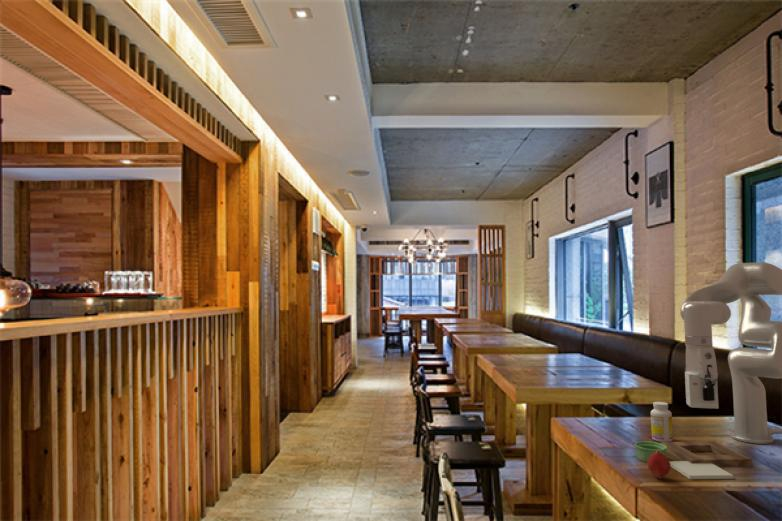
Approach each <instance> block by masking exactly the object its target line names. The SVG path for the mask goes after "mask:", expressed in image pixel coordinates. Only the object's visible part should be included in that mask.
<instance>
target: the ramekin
mask: <svg viewBox="0 0 782 521" xmlns="http://www.w3.org/2000/svg"><path fill="white" fill-rule="evenodd" d="M634 446H635V452H636V458H637V459H638V460H639V461H642V462H645V463H647V461H648V458H649V457H650V456H651V455H652V454H653V453H655V452H656V451H657V450H660V452H661V453H662V454H663V455H665V456H666V457H667V452H666V450H667V447H666V446H665V445H663V444H661V442H657V441H648V440H647V441H646V440H643V441H642V440H640V441H637V442H634Z"/></svg>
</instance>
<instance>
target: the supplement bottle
mask: <svg viewBox="0 0 782 521" xmlns="http://www.w3.org/2000/svg"><path fill="white" fill-rule="evenodd" d="M652 405H653V409H652V410H651V411H650V427H651V429H650V430H651V438H652V440H653V441H654V442H657V443H661V442H674V441H673V440H674V432H673V431H674V430H673V416H672V414H673V413H672V412H671V411H670V410H669V409H668V408H669V404H668V403H667V402H665V401H654V402H652Z"/></svg>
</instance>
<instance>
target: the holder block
mask: <svg viewBox="0 0 782 521" xmlns="http://www.w3.org/2000/svg"><path fill="white" fill-rule="evenodd" d="M660 444H663V445H665V446H666V447H667V450H666V453H667V454H670V455H671V456H673V457H675V458H676V459H678V460H679V461H688V462H690V463H712V464H714V465H716V466H718V467H753V459H752V458H750V457H748V456H746V455H744V454H742V453H740V452H737V451H736V450H734V449H732V448H730V447H727V446H725V445H724V444H721V443H719V442H717V441H716V440H715V441H672V442H660ZM691 451H705V452H711V453H712V452H713V453H712V455H711V454H710V455H709V454H707V455H706V454H705V455H704V454H703V455H700V454H699V455H698V454H695V453H694V452H691ZM714 454H715V455H714Z"/></svg>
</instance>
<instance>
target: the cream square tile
mask: <svg viewBox="0 0 782 521" xmlns="http://www.w3.org/2000/svg"><path fill="white" fill-rule="evenodd" d="M669 462H670V466H671V469H673V470H676V472H678V473H679V474H681V475H683V476H684V477H685V478H688V479H689V480H731V479H732V480H733V479H734V475H733V474H731V473H730V472H728V471H726V470H724V469H722V468H721V467H720V466H716V465H714V464H712V463H690V462H688V461H681V460H677V461H676V460H672V461H671V460H669Z"/></svg>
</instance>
